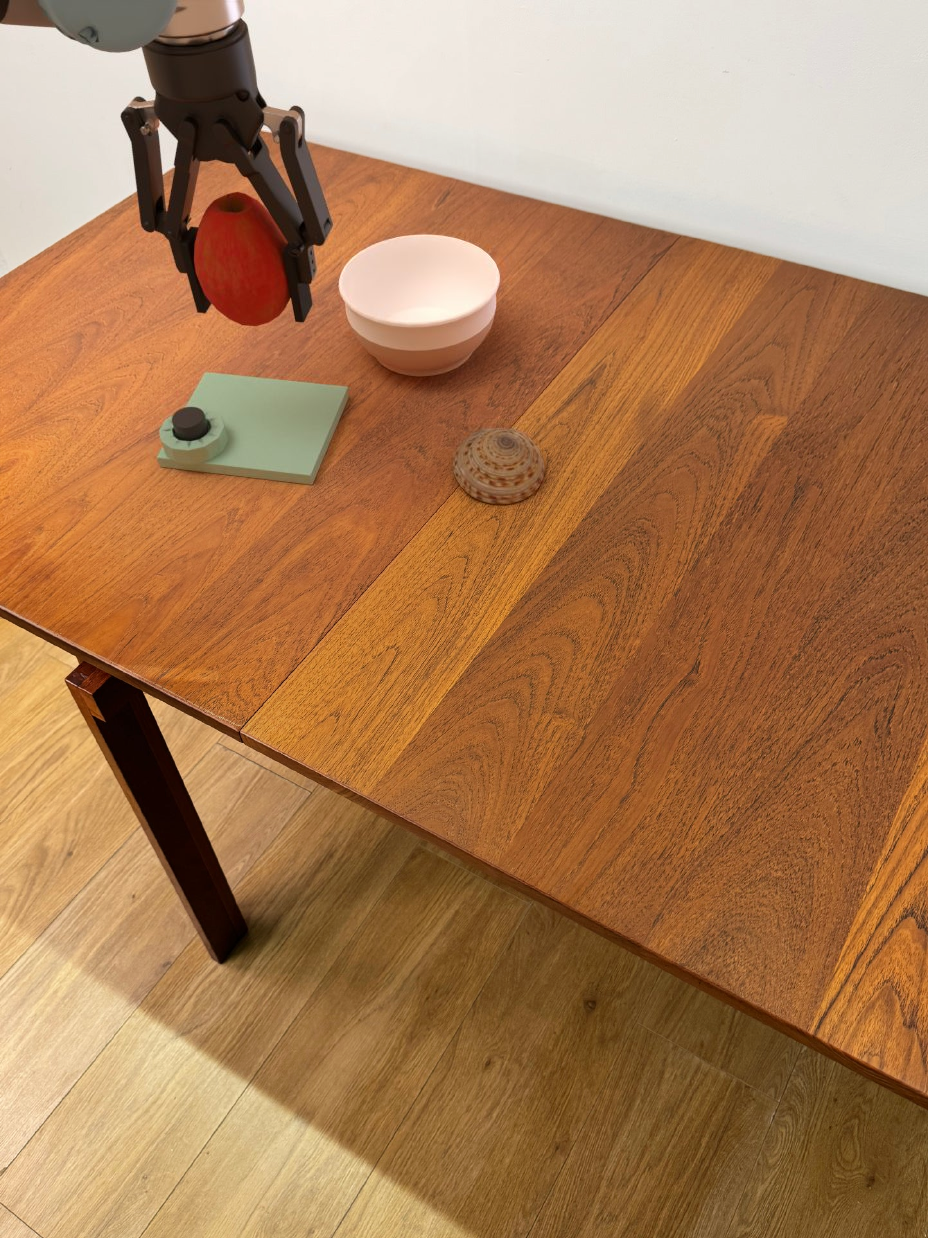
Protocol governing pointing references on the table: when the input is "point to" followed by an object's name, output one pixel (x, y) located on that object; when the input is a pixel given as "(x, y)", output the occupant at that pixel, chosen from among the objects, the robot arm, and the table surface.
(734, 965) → the table surface
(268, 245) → the apple
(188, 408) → the button
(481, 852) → the table surface
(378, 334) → the bowl
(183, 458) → the scale
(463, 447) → the seashell
